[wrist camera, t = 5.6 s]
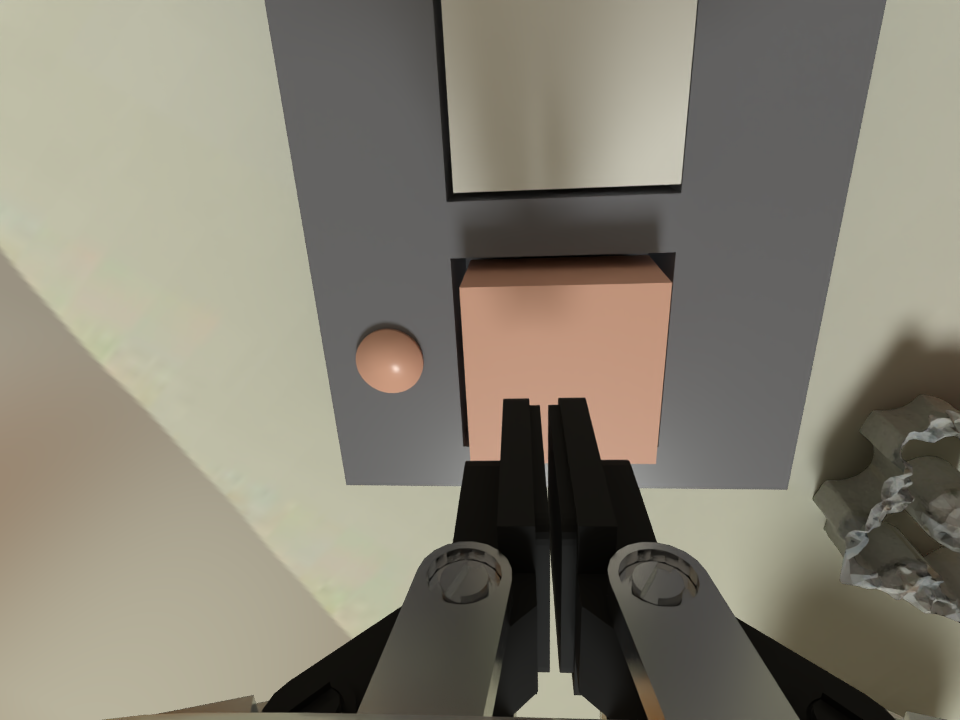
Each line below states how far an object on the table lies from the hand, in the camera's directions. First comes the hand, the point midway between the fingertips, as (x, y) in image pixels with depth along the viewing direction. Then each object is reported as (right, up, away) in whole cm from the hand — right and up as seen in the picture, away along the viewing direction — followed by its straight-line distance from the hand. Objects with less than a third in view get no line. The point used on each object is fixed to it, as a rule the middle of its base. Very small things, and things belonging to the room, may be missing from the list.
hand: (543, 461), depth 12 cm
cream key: (+1, +10, +3) cm, 10 cm away
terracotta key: (+1, +3, +6) cm, 7 cm away
